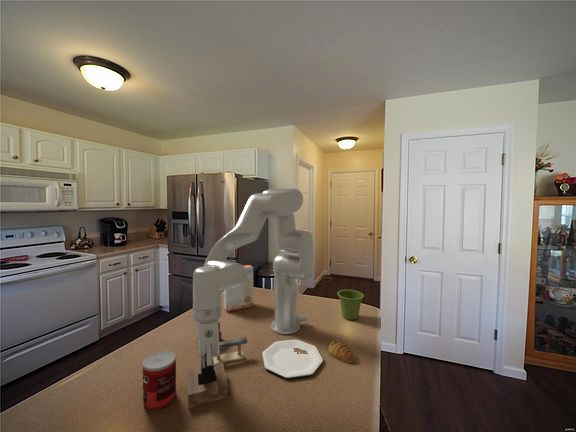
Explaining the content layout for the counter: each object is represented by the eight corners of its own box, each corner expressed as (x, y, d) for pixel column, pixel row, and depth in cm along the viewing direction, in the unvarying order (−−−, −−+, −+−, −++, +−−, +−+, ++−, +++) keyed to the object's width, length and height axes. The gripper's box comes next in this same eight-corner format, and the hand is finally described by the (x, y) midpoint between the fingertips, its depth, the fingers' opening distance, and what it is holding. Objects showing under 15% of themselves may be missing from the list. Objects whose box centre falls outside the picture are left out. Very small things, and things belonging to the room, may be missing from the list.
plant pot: (339, 310, 124) (339, 288, 123) (363, 314, 119) (364, 291, 119) (334, 320, 113) (335, 296, 112) (361, 325, 108) (362, 300, 108)
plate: (303, 390, 70) (303, 385, 70) (251, 365, 81) (251, 360, 81) (330, 355, 87) (330, 351, 87) (283, 338, 97) (283, 334, 97)
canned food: (151, 389, 69) (150, 351, 69) (180, 387, 70) (180, 350, 69) (136, 411, 62) (136, 369, 61) (169, 410, 62) (169, 368, 62)
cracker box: (249, 303, 131) (250, 264, 130) (253, 307, 125) (253, 267, 124) (223, 307, 124) (223, 267, 123) (225, 312, 119) (226, 269, 118)
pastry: (359, 359, 85) (359, 348, 84) (346, 367, 80) (346, 356, 80) (338, 346, 92) (338, 336, 92) (325, 353, 88) (325, 343, 88)
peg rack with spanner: (245, 351, 88) (245, 335, 88) (247, 357, 84) (247, 341, 84) (210, 358, 83) (210, 342, 83) (211, 366, 79) (211, 348, 79)
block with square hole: (222, 373, 76) (222, 362, 76) (227, 397, 67) (227, 384, 67) (187, 382, 72) (187, 370, 72) (188, 408, 63) (188, 395, 63)
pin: (212, 378, 72) (212, 345, 71) (213, 386, 69) (213, 351, 68) (200, 381, 70) (200, 347, 70) (201, 389, 67) (201, 354, 67)
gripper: (225, 322, 62) (225, 392, 63) (217, 299, 78) (217, 355, 78) (193, 327, 59) (193, 400, 60) (192, 302, 75) (192, 360, 76)
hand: (207, 374), depth 69 cm, fingers closed on pin, 3 cm apart
